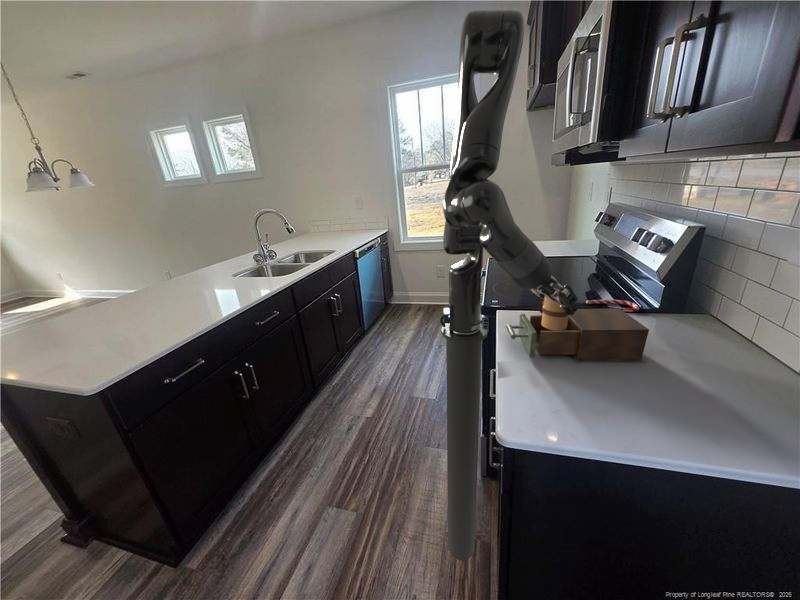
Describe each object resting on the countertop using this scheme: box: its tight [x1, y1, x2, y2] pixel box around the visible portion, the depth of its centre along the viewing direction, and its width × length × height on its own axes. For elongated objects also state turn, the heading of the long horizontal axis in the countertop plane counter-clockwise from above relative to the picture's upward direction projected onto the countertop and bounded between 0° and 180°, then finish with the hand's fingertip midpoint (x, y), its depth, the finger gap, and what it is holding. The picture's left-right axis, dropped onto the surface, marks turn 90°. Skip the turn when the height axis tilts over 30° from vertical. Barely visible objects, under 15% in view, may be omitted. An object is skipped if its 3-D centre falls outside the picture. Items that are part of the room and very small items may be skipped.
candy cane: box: [585, 299, 640, 313], centre depth 106 cm, size 8×1×15 cm
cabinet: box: [568, 307, 650, 362], centre depth 81 cm, size 15×13×9 cm
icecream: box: [537, 298, 544, 315], centre depth 101 cm, size 7×7×15 cm
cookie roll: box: [541, 291, 569, 330], centre depth 70 cm, size 5×5×8 cm
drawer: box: [505, 313, 580, 358], centre depth 83 cm, size 18×11×7 cm, turn 84°
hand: (562, 306), depth 70 cm, fingers closed on cookie roll, 5 cm apart
